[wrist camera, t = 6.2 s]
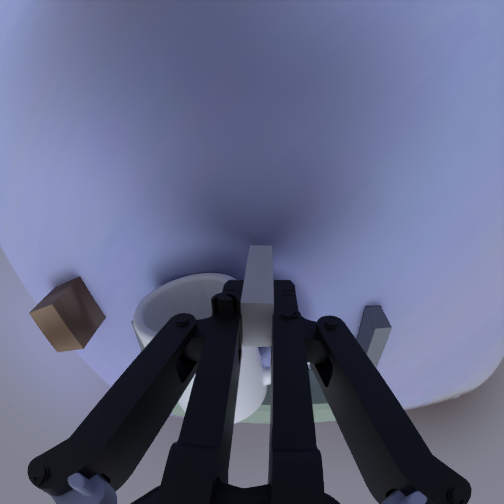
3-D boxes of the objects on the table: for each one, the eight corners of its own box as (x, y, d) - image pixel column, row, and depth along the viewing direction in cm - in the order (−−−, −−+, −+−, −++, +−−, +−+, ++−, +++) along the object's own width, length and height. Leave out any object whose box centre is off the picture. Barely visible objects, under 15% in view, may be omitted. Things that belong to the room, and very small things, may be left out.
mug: (190, 360, 26) (171, 424, 19) (155, 277, 22) (113, 340, 15) (309, 351, 24) (319, 421, 17) (301, 258, 20) (316, 327, 13)
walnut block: (55, 287, 23) (29, 313, 19) (80, 276, 23) (52, 304, 18) (78, 323, 25) (57, 352, 21) (106, 316, 24) (83, 348, 20)
